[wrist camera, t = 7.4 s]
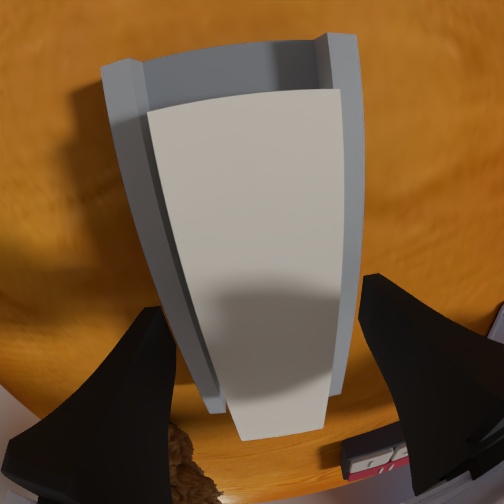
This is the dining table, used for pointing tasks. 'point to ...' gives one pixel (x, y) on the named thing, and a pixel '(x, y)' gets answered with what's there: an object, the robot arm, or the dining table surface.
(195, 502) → the stuffed squirrel
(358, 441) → the calculator
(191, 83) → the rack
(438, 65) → the dining table surface
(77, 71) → the dining table surface
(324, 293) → the white rectangular block
